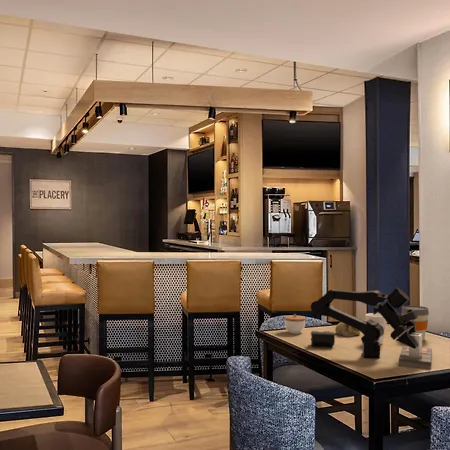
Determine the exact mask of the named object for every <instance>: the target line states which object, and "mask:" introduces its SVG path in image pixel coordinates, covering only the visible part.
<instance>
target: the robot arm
mask: <svg viewBox="0 0 450 450" xmlns="http://www.w3.org/2000/svg"><path fill="white" fill-rule="evenodd" d="M334 300H339V301H340V300H341V301H353V302H359V303H362V304H365V305H368V306H374V307H373V308H372V309H373V312H372V313H373V314H377V313H379V314H381V315H382V317H383V318H384V319H385V320H386V325H388V326H390V327H391V328H392V329H393V330H392V331H391V333H390V338H391V339H392V340H393V341H396V342H399V343H401V344H404V346H408V347H411V348H413V349H415V348H416V345H415V344H414V343H413V341H412V340H411V338H410V337H409V335H412V333H417V332H416V325H415V324H416V323H415V321H414V319H416V318H418V316H417V312H416V311H415V310H413V309H409V310H407V313H406V314H403V315H402V313H401V312H398V311H397V310H396V309H401V308H402V307H403V306H405V304H406V303H408V302H409V301H410V297H409V295H408V294H407V293H405V292H404V291H403V290H402V289H400V288H399V287H396V288H394V290H393V291H392V292H390V294H386V293H385V294H384V293H382V292H381V291H380V290H377V289H376V290H367V291H354V290H341V289H335V288H332V289H329V290H328V291H327V292H326V293H325V294H324V295H323V296H321V297H320V298H319V299H317V300H314V301H313V302H311V303H310V310H311V313H313V314H314V315H319V316H323V317H329V318H332V319H333V320H336V321H338V322H339V323H341V322H342V323H344V324H347V325H349V326H351V327H353V328H355V329H358V330H359V331H360V333H361V334H363V335H362V336H361V337H360V340H361V342H362V343H361V344H362V345H361V346H362V349H361V351H362V352H361V356H362V357H363V358H365V359H366V358H367V359H380V358H381V346H380V344H379V342H378V340H379V338H380V337H381V336H383V334H384V335H385V330H384V329H383V327H382V326H381V325H380V324H379V323H378V322H375V321H373V320H371V319H370V320H368V321H367V322H366V320H365V321H364V320H362V319H360V318H359V317H358V318H357V317H356V316H353V315H351V314H349V313H346V312H344V311H342V310H340V309H337V308H336V307H334V306H333V305H332V304H331V303H332V302H333V301H334ZM375 306H377V307H375ZM414 325H415V326H414ZM413 326H414V327H413Z"/></svg>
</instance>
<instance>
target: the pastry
mask: <svg viewBox="0 0 450 450" xmlns="http://www.w3.org/2000/svg"><path fill="white" fill-rule="evenodd" d="M334 329H335V330H334V331H335V333H336V334H338V335H339V336H343V337H346V338H347V337H348V338H350V337H351V338H352V337H356V336H359V335H361V331H359V330H358V329H355V328H353V327H351V326H349V325H347V324H344V323H342V322H339V323H338V324H336V327H335V328H334Z"/></svg>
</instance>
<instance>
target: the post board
mask: <svg viewBox="0 0 450 450" xmlns="http://www.w3.org/2000/svg"><path fill="white" fill-rule="evenodd" d="M432 359H433V348H429V347H422V356H421V357H420V358H412V357H409V346H407V345H402V348H401V351H400V354H399V357H398V366H401V367H409V368H411V367H412V368H421V369H429V370H430V369H432Z"/></svg>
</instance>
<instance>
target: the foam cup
mask: <svg viewBox="0 0 450 450" xmlns="http://www.w3.org/2000/svg"><path fill="white" fill-rule="evenodd" d="M370 319H371V320H373V321H375V322H378V323H379V324H380V325H381V326H382V327H383V329H384V331H385V329H386V325H387V321H386V320H385V319H384V318H383V317H382V315H381V314H380V313H379V312H378V313H377V314H373V312H372V313H371V312H370V313H365V321H366V322H367V321H368V320H370ZM384 337H385V333H384V334H383V336H381V337H380V338H379V340H378V342H379V345H381V344H382V345H383V344H384Z"/></svg>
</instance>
